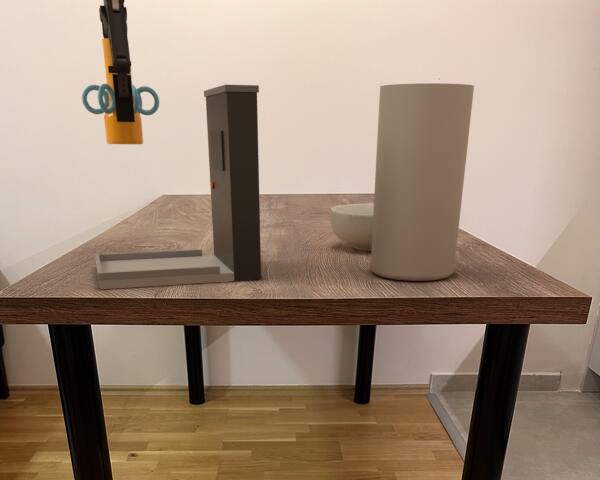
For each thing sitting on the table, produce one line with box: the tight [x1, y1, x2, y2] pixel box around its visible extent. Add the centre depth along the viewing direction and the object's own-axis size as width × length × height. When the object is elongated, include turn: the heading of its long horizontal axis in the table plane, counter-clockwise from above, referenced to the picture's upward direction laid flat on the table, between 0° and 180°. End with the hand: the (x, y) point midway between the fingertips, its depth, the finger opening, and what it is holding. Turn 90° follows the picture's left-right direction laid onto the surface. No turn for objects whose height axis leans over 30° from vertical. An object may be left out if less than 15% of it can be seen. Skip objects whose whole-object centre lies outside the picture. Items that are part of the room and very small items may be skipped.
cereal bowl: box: [329, 202, 374, 252], centre depth 116 cm, size 17×17×7 cm
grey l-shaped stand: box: [94, 84, 262, 290], centre depth 91 cm, size 23×16×25 cm
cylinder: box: [81, 38, 160, 145], centre depth 104 cm, size 12×10×15 cm
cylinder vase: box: [370, 82, 475, 282], centre depth 91 cm, size 12×12×25 cm
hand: (123, 122), depth 105 cm, fingers closed on cylinder, 11 cm apart
